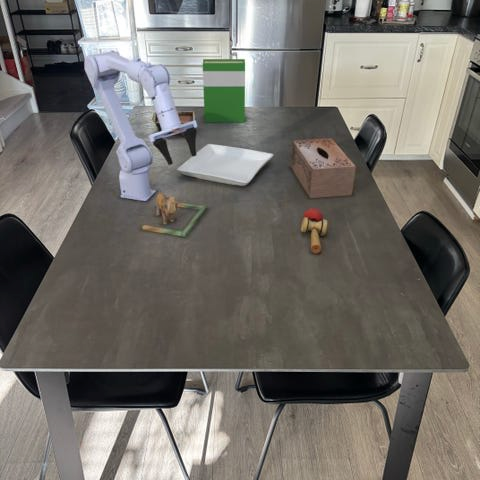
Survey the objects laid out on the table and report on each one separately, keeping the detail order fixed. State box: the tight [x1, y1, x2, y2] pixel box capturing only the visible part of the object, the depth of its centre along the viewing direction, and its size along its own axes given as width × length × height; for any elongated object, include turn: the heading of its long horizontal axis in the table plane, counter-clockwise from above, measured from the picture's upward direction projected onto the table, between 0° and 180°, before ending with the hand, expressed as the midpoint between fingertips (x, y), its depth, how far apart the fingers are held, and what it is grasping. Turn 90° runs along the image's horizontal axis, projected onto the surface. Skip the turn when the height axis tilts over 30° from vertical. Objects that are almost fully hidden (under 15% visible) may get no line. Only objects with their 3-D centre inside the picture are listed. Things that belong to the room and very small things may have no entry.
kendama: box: [300, 208, 328, 254], centre depth 155 cm, size 8×6×18 cm
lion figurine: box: [154, 192, 182, 225], centre depth 164 cm, size 15×5×9 cm, turn 33°
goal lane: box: [141, 201, 208, 238], centre depth 165 cm, size 14×18×1 cm
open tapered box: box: [151, 110, 197, 136], centre depth 222 cm, size 14×18×10 cm
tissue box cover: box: [290, 137, 357, 199], centre depth 185 cm, size 26×14×10 cm, turn 10°
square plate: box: [176, 143, 274, 187], centre depth 193 cm, size 27×27×4 cm
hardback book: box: [202, 58, 246, 123], centre depth 231 cm, size 18×7×24 cm, turn 91°
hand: (182, 160), depth 154 cm, fingers open, 7 cm apart
